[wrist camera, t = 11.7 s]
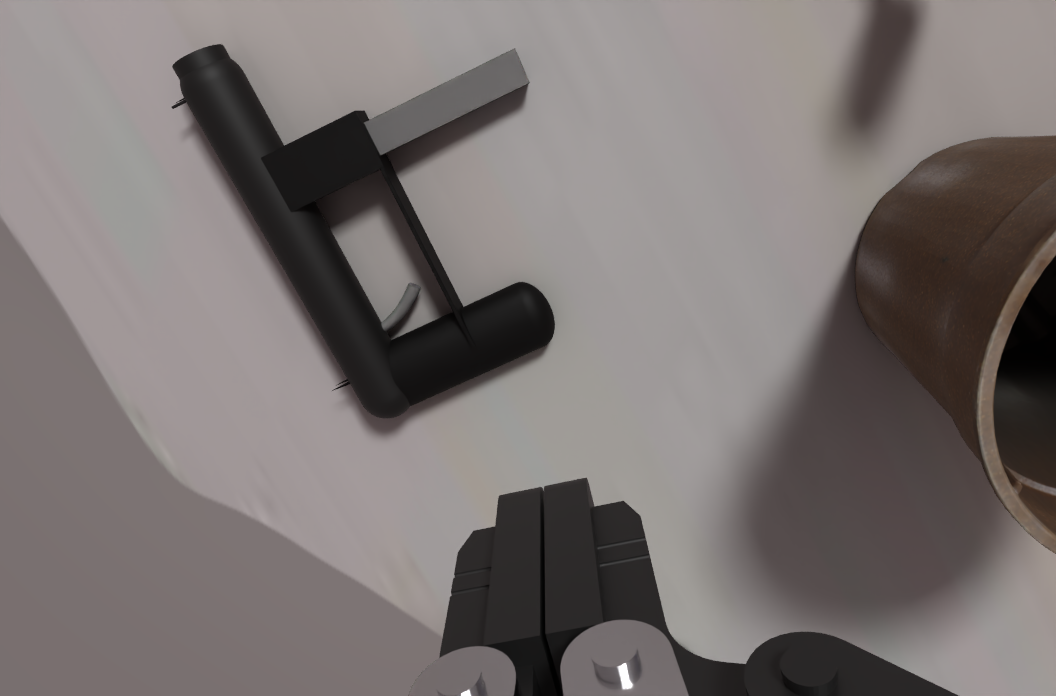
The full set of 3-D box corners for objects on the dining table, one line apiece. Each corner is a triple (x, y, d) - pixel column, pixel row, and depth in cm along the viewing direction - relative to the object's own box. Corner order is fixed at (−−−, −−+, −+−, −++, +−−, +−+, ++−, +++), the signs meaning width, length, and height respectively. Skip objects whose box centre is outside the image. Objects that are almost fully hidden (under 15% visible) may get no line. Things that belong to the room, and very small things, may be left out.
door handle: (457, -89, 31) (134, 78, 33) (632, 319, 37) (353, 444, 39) (461, -71, 34) (167, 81, 36) (621, 302, 40) (364, 418, 42)
